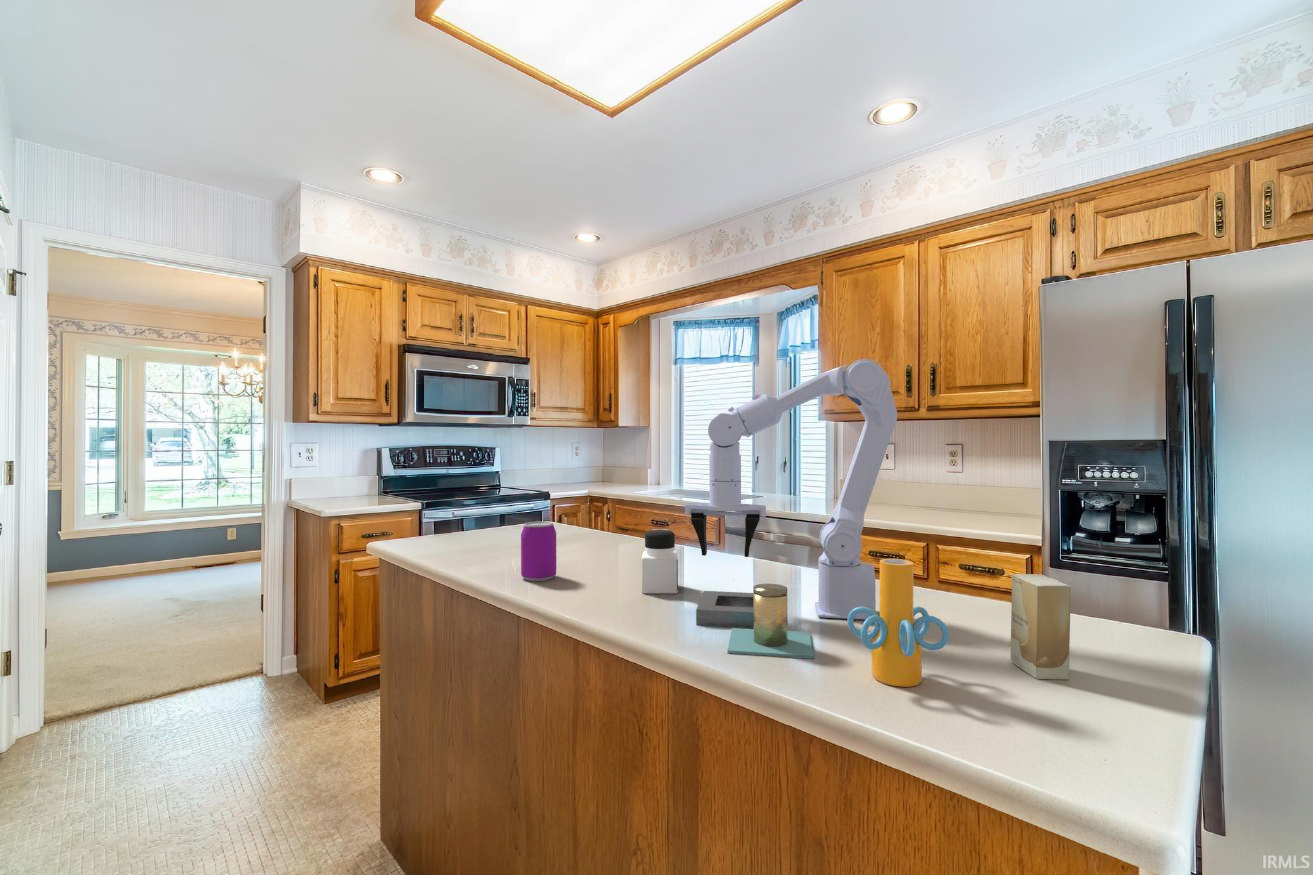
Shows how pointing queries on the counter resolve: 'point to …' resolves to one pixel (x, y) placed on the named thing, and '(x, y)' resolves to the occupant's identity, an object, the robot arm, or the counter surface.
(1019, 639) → the skincare box
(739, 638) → the mat
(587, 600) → the counter surface
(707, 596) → the housing
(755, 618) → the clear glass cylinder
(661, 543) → the medicine bottle
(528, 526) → the beverage can
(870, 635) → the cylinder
